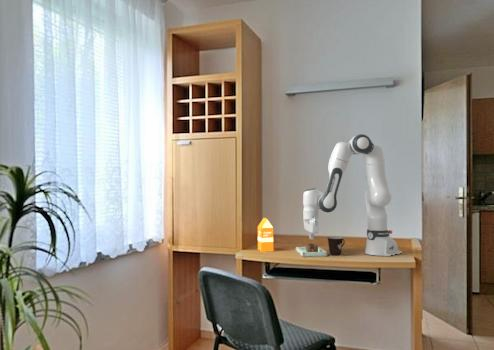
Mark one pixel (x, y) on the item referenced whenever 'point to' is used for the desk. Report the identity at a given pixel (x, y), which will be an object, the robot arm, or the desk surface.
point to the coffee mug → (335, 245)
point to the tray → (311, 254)
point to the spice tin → (311, 247)
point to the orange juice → (265, 236)
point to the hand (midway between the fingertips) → (311, 239)
